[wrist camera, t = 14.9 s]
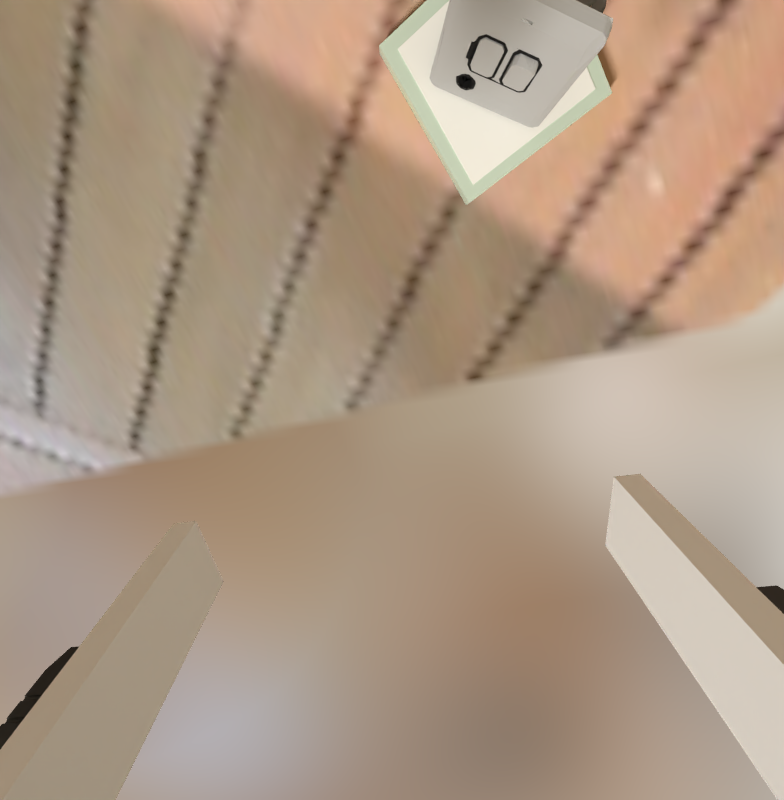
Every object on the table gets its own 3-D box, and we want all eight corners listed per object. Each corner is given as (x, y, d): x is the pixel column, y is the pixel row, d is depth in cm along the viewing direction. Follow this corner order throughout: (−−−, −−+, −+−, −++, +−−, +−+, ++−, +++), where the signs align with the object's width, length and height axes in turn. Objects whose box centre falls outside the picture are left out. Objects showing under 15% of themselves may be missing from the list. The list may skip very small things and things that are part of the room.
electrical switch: (426, 85, 29) (445, 2, 20) (451, 4, 27) (483, -124, 18) (534, 132, 30) (597, 74, 21) (564, 57, 28) (645, -39, 20)
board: (380, 54, 29) (379, 44, 28) (528, -87, 26) (536, -106, 25) (465, 204, 34) (469, 203, 32) (602, 99, 30) (612, 92, 29)
